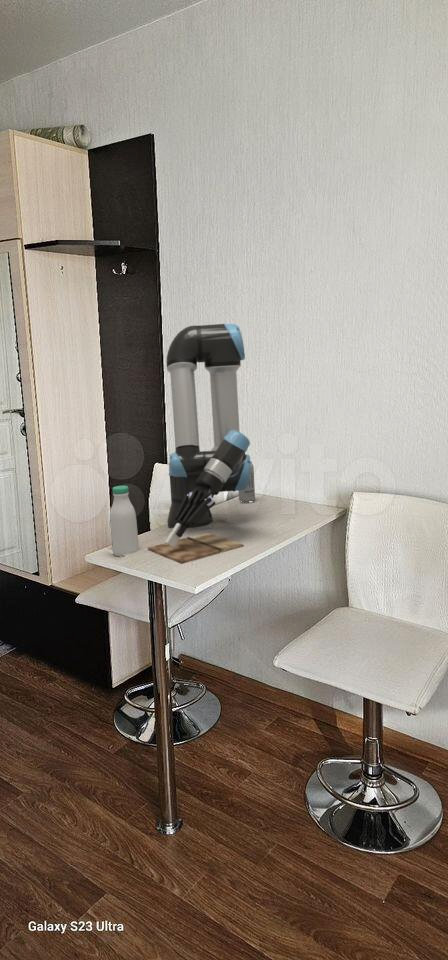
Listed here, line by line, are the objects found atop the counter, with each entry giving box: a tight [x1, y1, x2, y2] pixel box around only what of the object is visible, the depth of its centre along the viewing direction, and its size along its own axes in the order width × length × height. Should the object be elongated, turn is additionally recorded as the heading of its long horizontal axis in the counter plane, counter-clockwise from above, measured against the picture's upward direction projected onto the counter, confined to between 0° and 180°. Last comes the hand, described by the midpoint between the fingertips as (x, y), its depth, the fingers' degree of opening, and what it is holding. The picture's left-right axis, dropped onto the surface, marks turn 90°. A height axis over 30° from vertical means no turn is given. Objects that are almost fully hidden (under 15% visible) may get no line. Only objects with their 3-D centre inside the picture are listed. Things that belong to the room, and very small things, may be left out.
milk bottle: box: [109, 485, 140, 557], centre depth 204 cm, size 8×8×20 cm
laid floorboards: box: [186, 532, 245, 554], centre depth 208 cm, size 18×8×2 cm, turn 37°
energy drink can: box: [238, 460, 256, 502], centre depth 260 cm, size 6×6×15 cm
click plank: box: [147, 537, 221, 565], centre depth 201 cm, size 18×2×13 cm
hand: (169, 544), depth 198 cm, fingers closed
